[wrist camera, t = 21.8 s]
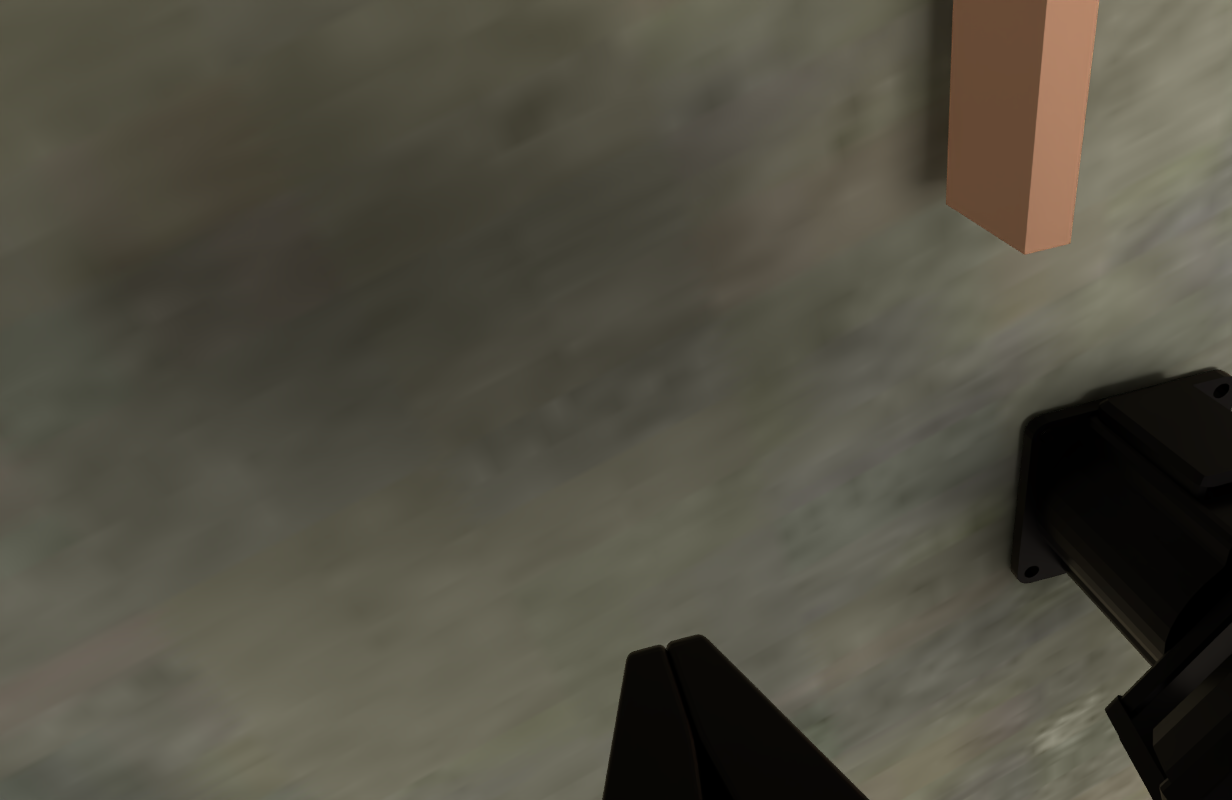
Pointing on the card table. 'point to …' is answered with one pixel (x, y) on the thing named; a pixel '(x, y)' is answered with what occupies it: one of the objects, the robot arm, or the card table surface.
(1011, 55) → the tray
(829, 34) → the card table surface
